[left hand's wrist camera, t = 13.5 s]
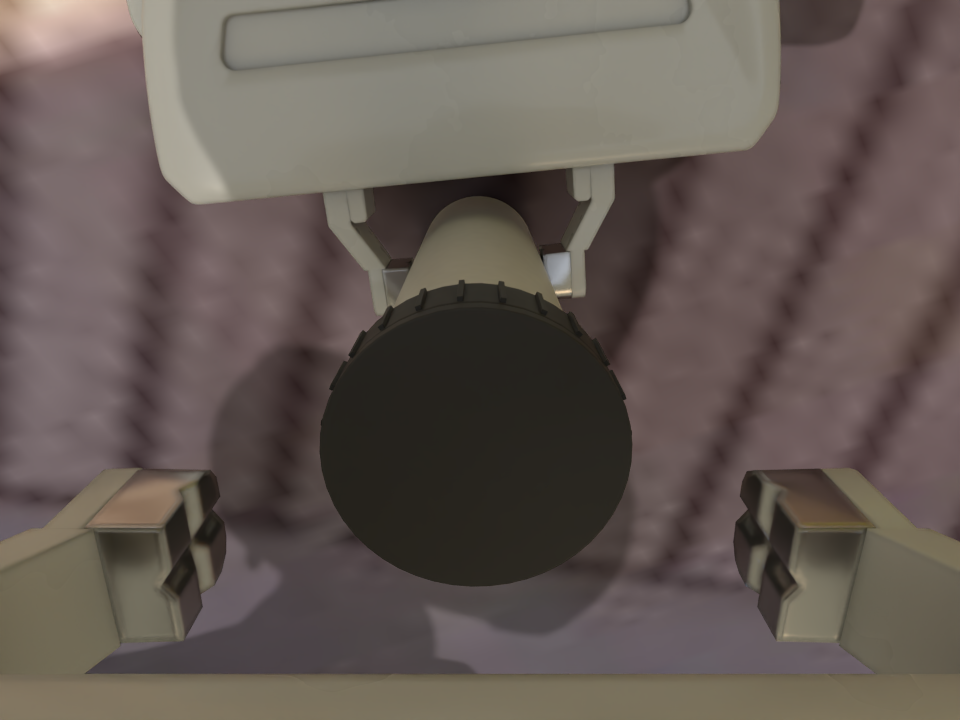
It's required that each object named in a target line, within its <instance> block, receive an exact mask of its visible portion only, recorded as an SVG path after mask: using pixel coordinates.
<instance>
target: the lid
mask: <svg viewBox="0 0 960 720" xmlns="http://www.w3.org/2000/svg"><path fill="white" fill-rule="evenodd" d="M349 356H350V359H349V361H348V362H346V361H344V362H343V363H342V365H341V367H340V369H339V371H338V373H337V374H336V376H335V378H334V380H333V382H332V383H331V385H330V388H329V389H330V390H332V393H331V395H330V397H329V400H328V403H327V406H326V409H325V412H324V415H323V418H322V420H321V432H320V458H321V467H322V472H323V476H324V480H325V483H326V487H327V490H328V492H329V494H330V497H331V499H332V501H333V504H334V506H335V507H336V509H337V511H338V512H339V514H340V516H341V517H342V519H343V521H344V522H345V523H346V524H347V526H348V527H349V528H350V529H351V531H352V532H353V533H354V534H355V536H357V537H358V538H359V539H360V540H361V541H362V542H363V543H364V544H365V545H366V546H367V547H368V548H369V549H370V550H372V551H373V552H374V553H376V554H377V555H378V556H380V557H381V558H382V559H384V560H386V561H387V562H389V563H391V564H392V565H394V566H396V567H398V568H399V569H402V570H404V571H406V572H409V573H411V574H413V575H415V576H418V577H422V578H425V579H428V580H431V581H435V582H440V583H445V584H450V585H459V586H494V585H501V584H509V583H513V582H517V581H521V580H525V579H528V578H531V577H534V576H536V575H539V574H542V573H545V572H547V571H549V570H550V569H552V568H554V567H556V566H558V565H560V564H562V563H564V562H565V561H567V560H568V559H570V558H571V557H573V556H574V555H576V554H577V553H578V552H579V551H581V550H582V549H583V548H584V547H585V546H586V545H588V544H589V543H590V542H591V541H592V540H593V539H594V538H595V537H596V535H597V534H598V533H599V532H600V531H601V530H602V529H603V528H604V526H605V525H606V523H607V522H608V520H609V519H610V518H611V516H612V515H613V513H614V511H615V509H616V507H617V505H618V503H619V502H620V500H621V498H622V495H623V492H624V489H625V487H626V484H627V481H628V476H629V471H630V466H631V459H632V431H631V426H630V421H629V417H628V413H627V409H626V406H625V404H624V401H623V400H625V399H626V396H625V394H624V392H623V390H622V388H621V386H620V384H619V382H618V380H617V378H616V376H615V374H614V372H613V370H610V371H609V369H608V367H607V366H608V365H610V363H609V361H608V359H607V358H606V356H605V354H604V352H603V350H602V348H601V346H600V344H599V342H598V341H597V339H596V338H595V339H594V340H591V338H590V337H589V336H588V335H587V333H586V332H585V331H584V330H583V328H582V327H581V326H580V325H579V324H578V322H577V320H576V318H575V316H574V314H573V313H572V312H569V313H568V314H566V313H565V312H563V311H562V310H561V309H559V308H558V307H556V306H555V305H553V304H552V303H550V302H548V301H546V300H544V299H543V296H542V294H541V293H539V292H536V294H535V295H533V294H531V293H528V292H525V291H523V290H520V289H516V288H512V287H507V286H505V283H504V281H499V282H498V285H496V284H486V283H465V280H459V283H458V284H456V285H450V286H444V287H440V288H437V289H433V290H430V291H427V290H426V288H423V289H421V290H420V292H419V295H417V296H415V297H412V298H410V299H408V300H406V301H404V302H403V303H401V304H399V305H398V306H396V307H395V308H393V307H392V306H391V305H390V306H389V307H387V308H386V310H385V312H384V315H383V317H382V318H380V319H379V320H378V321H377V322H376V323H375V324H374V325H373V326H372V327H371V328H370V329H369V330H368V331H367V333H366V332H365V331H364V330H363V331H362V332H361V333H360V335H359V337H358V338H357V340H356V342H355V344H354V346H353V348H352V349H351V351H350V353H349Z"/></svg>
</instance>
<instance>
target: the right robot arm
mask: <svg viewBox="0 0 960 720" xmlns="http://www.w3.org/2000/svg"><path fill="white" fill-rule="evenodd" d="M126 1H127V5H128V9H129V13H130V16H131V19H132V21H133V23H134V25H135V27H136V29H137V31H138V33H139V34H140V36H141V37H142V42H143V56H144V67H145V79H146V87H147V95H148V103H149V111H150V117H151V123H152V130H153V135H154V141H155V146H156V152H157V157H158V161H159V165H160V169H161V172H162V174H163V176H164V178H165V179H166V181H167V182H168V183H169V184H170V185H171V186H173V187H174V188H175V189H176V190H177V191H178V192H179V193H180V194H181V195H182V196H183V197H184V198H185V199H187V200H188V201H189V202H190V203H192V204H196V205H201V204H212V203H222V202H232V201H242V200H253V199H263V198H273V197H283V196H293V195H303V194H313V193H323V198H324V204H325V209H326V215H327V221H328V226H329V228H330V229H331V230H332V231H333V233H334V234H335V235H336V236H337V238H338V239H339V240H340V241H341V243H342V244H343V245H344V246H345V247H346V249H347V250H348V251H349V252H350V254H351V255H352V256H353V257H354V259H355V260H356V261H357V262H358V264H359V265H360V266H361V267H362V269H363V270H364V271H368V275H369V281H370V287H371V294H372V300H373V306H374V311H375V314H376V316H383V315H384V312H385V310H386V308H387V307H389V306H390V305H391V306H392V307H394V304H395V302H396V300H397V298H398V295H399V293H400V291H401V289H402V286H403V284H404V282H405V280H406V277H407V275H408V273H409V271H410V269H411V266H412V264H413V258H402V259H392V258H391V256H390V255H389V254H388V252H387V251H386V250H385V248H384V247H383V246H382V244H381V243H380V241H379V240H378V239H377V237H376V236H375V235H374V233H373V232H372V231H371V229H370V228H369V226H368V225H367V224H366V222H365V221H366V220H367V219H368V218H369V217H370V216H372V215H373V214H374V212H375V211H376V207H375V200H374V192H373V187H383V186H393V185H403V184H413V183H424V182H434V181H444V180H454V179H464V178H474V177H484V176H494V175H504V174H514V173H524V172H534V171H544V170H554V169H564V168H565V169H566V184H567V192H568V193H569V194H570V195H571V196H572V197H573V198H574V199H576V200H577V201H580V202H579V204H578V206H577V208H576V210H575V212H574V214H573V216H572V218H571V221H570V223H569V225H568V227H567V229H566V231H565V233H564V235H563V237H562V239H561V241H560V242H561V243H557V244H549V245H540V246H539V250H540V258H541V260H542V262H543V265H544V267H545V270H546V272H547V274H548V277H549V279H550V282H551V284H552V286H553V289H554V291H555V294H556V296H557V298H558V299H566V298H577V297H585V294H586V277H585V254H584V250H588V248H589V246H590V245H591V243H592V241H593V239H594V237H595V235H596V233H597V231H598V229H599V228H600V226H601V224H602V222H603V220H604V218H605V216H606V214H607V212H608V211H609V209H610V207H611V205H612V203H613V201H614V199H615V187H614V164H615V163H625V162H635V161H645V160H655V159H665V158H675V157H685V156H695V155H705V154H715V153H725V152H735V151H744V150H748V149H751V148H752V147H753V146H754V145H755V144H756V143H757V142H758V141H759V139H760V138H761V137H762V135H763V134H764V133H765V131H766V130H767V128H768V127H769V125H770V124H771V123H772V121H773V120H774V118H775V116H776V114H777V110H778V105H779V95H780V78H781V25H780V4H779V0H126Z"/></svg>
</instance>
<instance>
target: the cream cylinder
mask: <svg viewBox="0 0 960 720" xmlns="http://www.w3.org/2000/svg"><path fill="white" fill-rule="evenodd" d="M459 280H465V283H486V284H496V285H498V282H499V281H504V283H505V286H507V287H512V288H516V289H520V290H523V291H525V292H528V293H531V294H533V295H535V294H536V292H539V293H541V294H542V296H543V299H544V300H546V301H548V302H550V303H552V304H553V305H555V306H556V307H558V308H559V309H561V310H562V308H561V306H560V303H559V301H558V298H557V296H556V294H555V291H554V289H553V286H552V284H551V282H550V279H549V277H548V274H547V272H546V270H545V267H544V265H543V262H542V260H541V258H540V255H539V253H538V250H537V248H536V246H535V243H534V241H533V238H532V236H531V234H530V231H529V229H528V226H527V225H526V223H525V221H524V220H523V218H522V217H521V216H520V215H519V214H518V213H517V212H516V211H515V210H514V209H513V208H512V207H510V206H509V205H508V204H506V203H504V202H502V201H500V200H497V199H494V198H490V197H484V196H472V197H466V198H463V199H459V200H457V201H455V202H453V203H451V204H449V205H448V206H446V207H445V208H444V209H443V210H441V211H440V212H439V213H438V215H437V216H436V217H435V218H434V220H433V221H432V223H431V224H430V226H429V228H428V231H427V233H426V235H425V237H424V239H423V242H422V244H421V246H420V248H419V251H418V253H417V255H416V257H415V260H414V262H413V264H412V266H411V269H410V271H409V273H408V275H407V277H406V280H405V282H404V284H403V286H402V289H401V291H400V293H399V295H398V298H397V300H396V302H395V304H394V307H393V308H395V307H396V306H398V305H399V304H401V303H403V302H404V301H406V300H408V299H410V298H412V297H415V296H417V295H419V292H420V290H421V289H423V288H426V290H427V291H430V290H433V289H437V288H440V287H444V286H450V285H456V284H458V283H459ZM562 311H563V310H562Z"/></svg>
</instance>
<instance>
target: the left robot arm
mask: <svg viewBox="0 0 960 720" xmlns="http://www.w3.org/2000/svg"><path fill="white" fill-rule="evenodd" d="M219 497H220V493H219V487H218V482H217V477H216V476H215V475H214V473H213V472H212V471H211V470H190V469H142V468H120V469H107V470H103V471H102V472H101V473H100V474H99V475H98V476H97V477H96V478H95V479H94V480H93V481H92V482H91V483H90V484H89V485H88V486H86V487H85V488H84V489H83V490H82V491H81V492H80V493H79V494H78V495H77V496H76V497H75V498H74V499H73V500H72V501H71V502H70V503H69V504H68V505H67V506H66V507H65V508H64V509H63V510H61V511H60V512H59V513H58V514H57V515H56V516H55V517H54V518H53V519H52V520H51V521H50V522H49V523H48V524H47V525H46V526H45V527H44V528H37V529H29V530H27V531H24V532H22V533H20V534H17V535H15V536H13V537H10V538H8V539H5V540H3V541H1V542H0V720H960V542H959V541H957V540H954V539H952V538H950V537H947V536H945V535H943V534H940V533H938V532H936V531H933V530H931V529H924V528H916V527H915V526H914V525H913V524H912V523H911V522H910V521H909V520H908V519H907V518H906V517H905V516H904V515H903V514H902V513H901V512H900V511H899V510H898V509H897V508H895V507H894V506H893V505H892V504H891V503H890V502H889V501H888V500H887V499H886V498H885V497H884V496H883V495H882V494H881V493H880V492H879V491H878V490H877V489H876V488H875V487H874V486H873V485H872V484H871V483H870V482H869V481H867V480H866V479H865V478H864V477H863V476H862V475H861V474H860V473H859V472H858V471H857V470H854V469H851V468H832V469H787V470H753V471H747V472H746V474H745V477H744V479H743V481H742V486H741V492H740V497H741V499H742V500H743V502H744V504H745V505H746V507H747V508H748V510H747V511H746V512H745V513H744V514H743V515H742V516H741V517H740V518H739V519H738V520H737V521H736V524H735V532H734V541H733V543H734V554H735V561H736V565H737V568H738V571H739V574H740V576H741V578H742V580H743V582H744V583H745V585H746V586H747V587H749V588H750V589H752V590H754V591H755V592H757V593H758V594H759V600H758V606H757V607H758V609H759V611H760V613H761V614H762V616H763V618H764V620H765V621H766V623H767V625H768V627H769V629H770V630H771V632H772V634H773V636H774V637H775V639H776V641H791V642H827V643H840V644H839V646H840V647H842V648H843V649H844V650H846V651H847V652H848V653H850V654H851V655H852V656H853V657H855V658H856V659H857V660H859V661H860V662H861V663H863V664H864V665H865V666H867V667H868V668H869V669H870V670H872V671H873V672H874V673H876V674H85V673H86V672H87V671H89V670H90V669H91V668H92V667H94V666H95V665H96V664H98V663H99V662H100V661H102V660H103V659H104V658H105V657H107V656H108V655H109V654H111V653H112V652H113V651H115V650H116V649H117V648H119V647H120V643H132V642H168V641H184V639H185V638H186V636H187V634H188V632H189V630H190V629H191V627H192V625H193V623H194V622H195V620H196V618H197V616H198V614H199V613H200V611H201V609H202V607H203V606H202V600H201V594H202V593H203V592H205V591H206V590H208V589H210V588H211V587H213V586H214V585H215V583H216V582H217V580H218V578H219V576H220V574H221V572H222V568H223V564H224V559H225V555H226V531H225V524H224V521H223V520H222V519H221V518H220V517H219V516H218V515H217V514H216V513H215V512H214V511H213V510H212V508H213V507H214V505H215V504H216V502H217V500H218V499H219Z"/></svg>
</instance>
